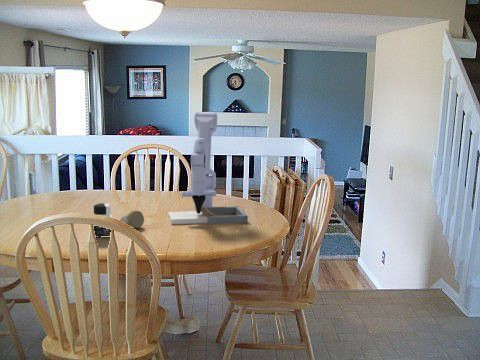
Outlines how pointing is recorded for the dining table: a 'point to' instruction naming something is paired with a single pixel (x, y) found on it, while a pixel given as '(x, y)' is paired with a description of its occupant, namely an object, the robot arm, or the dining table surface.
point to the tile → (206, 211)
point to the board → (187, 217)
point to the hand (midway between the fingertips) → (198, 212)
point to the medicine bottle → (104, 211)
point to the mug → (133, 219)
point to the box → (237, 218)
